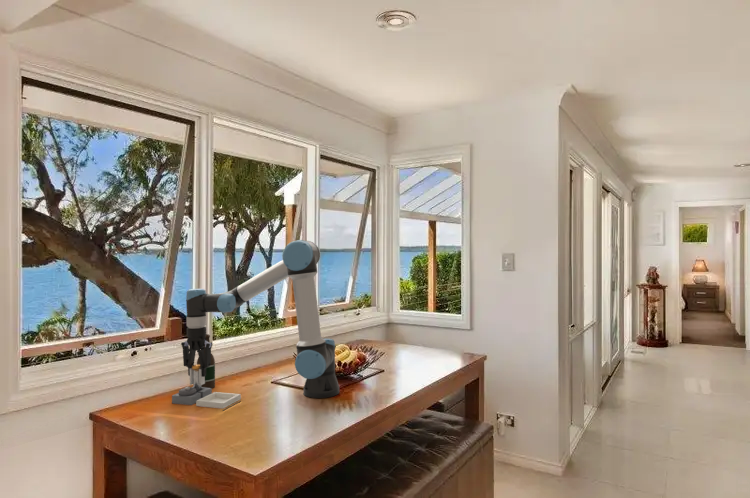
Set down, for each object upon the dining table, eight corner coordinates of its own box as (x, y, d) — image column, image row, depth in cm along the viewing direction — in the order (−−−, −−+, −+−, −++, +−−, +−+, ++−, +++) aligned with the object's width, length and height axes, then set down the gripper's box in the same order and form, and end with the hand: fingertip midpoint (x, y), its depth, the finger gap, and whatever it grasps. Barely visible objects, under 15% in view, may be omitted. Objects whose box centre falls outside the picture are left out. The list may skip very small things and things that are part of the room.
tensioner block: (193, 396, 203) (193, 380, 203) (211, 397, 201) (211, 381, 201) (172, 405, 191) (171, 388, 191) (191, 407, 188) (191, 390, 188)
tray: (240, 401, 195) (240, 394, 195) (223, 411, 184) (223, 403, 184) (214, 399, 199) (214, 391, 199) (196, 408, 187) (196, 400, 187)
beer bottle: (209, 392, 208) (209, 336, 208) (193, 391, 210) (192, 336, 210) (218, 387, 216) (218, 333, 216) (202, 386, 217) (202, 333, 217)
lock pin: (204, 394, 200) (203, 364, 200) (198, 396, 196) (198, 366, 196) (196, 393, 201) (196, 364, 201) (190, 396, 197) (190, 366, 198)
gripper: (219, 325, 200) (220, 382, 200) (185, 324, 205) (185, 380, 205) (208, 328, 193) (209, 387, 193) (172, 327, 198) (173, 385, 198)
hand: (197, 383), depth 199 cm, fingers closed on lock pin, 4 cm apart
